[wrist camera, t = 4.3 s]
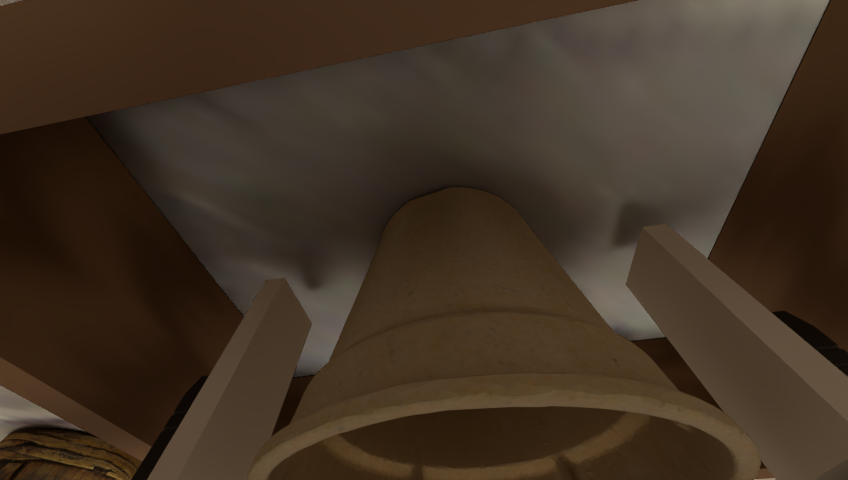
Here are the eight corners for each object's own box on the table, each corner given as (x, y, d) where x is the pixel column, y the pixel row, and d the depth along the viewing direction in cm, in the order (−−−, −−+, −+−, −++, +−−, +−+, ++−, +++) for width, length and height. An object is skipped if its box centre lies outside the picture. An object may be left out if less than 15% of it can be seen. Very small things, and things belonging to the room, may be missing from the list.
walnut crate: (6, 69, 9) (-476, 128, 4) (959, -154, 7) (2403, -614, 2) (281, 389, 20) (236, 511, 15) (687, 347, 17) (791, 476, 12)
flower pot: (535, 323, 16) (624, 559, 9) (355, 321, 16) (303, 560, 9) (600, 145, 11) (954, 398, 4) (325, 140, 10) (125, 393, 3)
